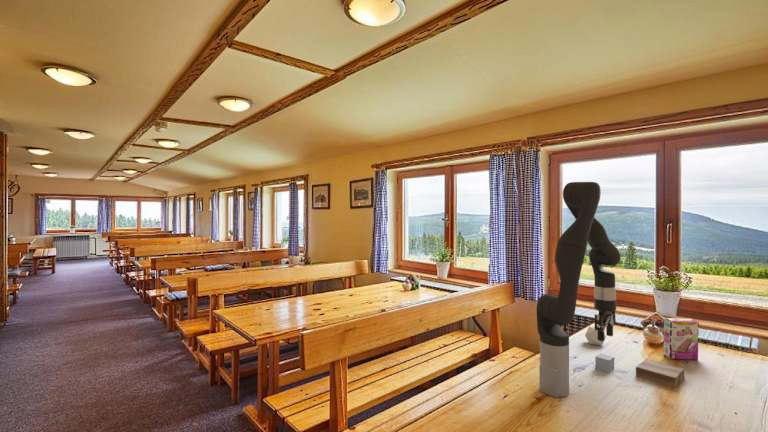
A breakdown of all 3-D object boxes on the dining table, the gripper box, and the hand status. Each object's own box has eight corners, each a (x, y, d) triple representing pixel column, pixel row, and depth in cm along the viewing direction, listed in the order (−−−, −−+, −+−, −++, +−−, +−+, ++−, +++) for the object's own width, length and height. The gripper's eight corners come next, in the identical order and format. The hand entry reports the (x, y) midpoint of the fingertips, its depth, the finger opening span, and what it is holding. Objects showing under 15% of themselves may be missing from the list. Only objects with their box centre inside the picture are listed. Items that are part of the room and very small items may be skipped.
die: (599, 350, 167) (611, 333, 168) (581, 337, 172) (592, 320, 172) (597, 350, 174) (609, 334, 175) (580, 338, 179) (591, 322, 179)
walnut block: (675, 389, 129) (675, 377, 129) (635, 377, 139) (635, 366, 139) (684, 379, 137) (684, 368, 137) (646, 368, 146) (646, 358, 146)
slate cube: (609, 373, 142) (609, 360, 142) (595, 369, 146) (595, 356, 146) (614, 369, 145) (614, 357, 145) (600, 365, 149) (600, 353, 149)
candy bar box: (670, 359, 154) (670, 320, 154) (662, 355, 159) (662, 317, 159) (699, 360, 153) (699, 321, 153) (690, 356, 158) (690, 318, 158)
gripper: (608, 302, 138) (608, 345, 138) (622, 296, 146) (622, 336, 147) (587, 298, 143) (587, 340, 144) (602, 293, 152) (602, 332, 153)
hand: (605, 338), depth 145 cm, fingers open, 8 cm apart
